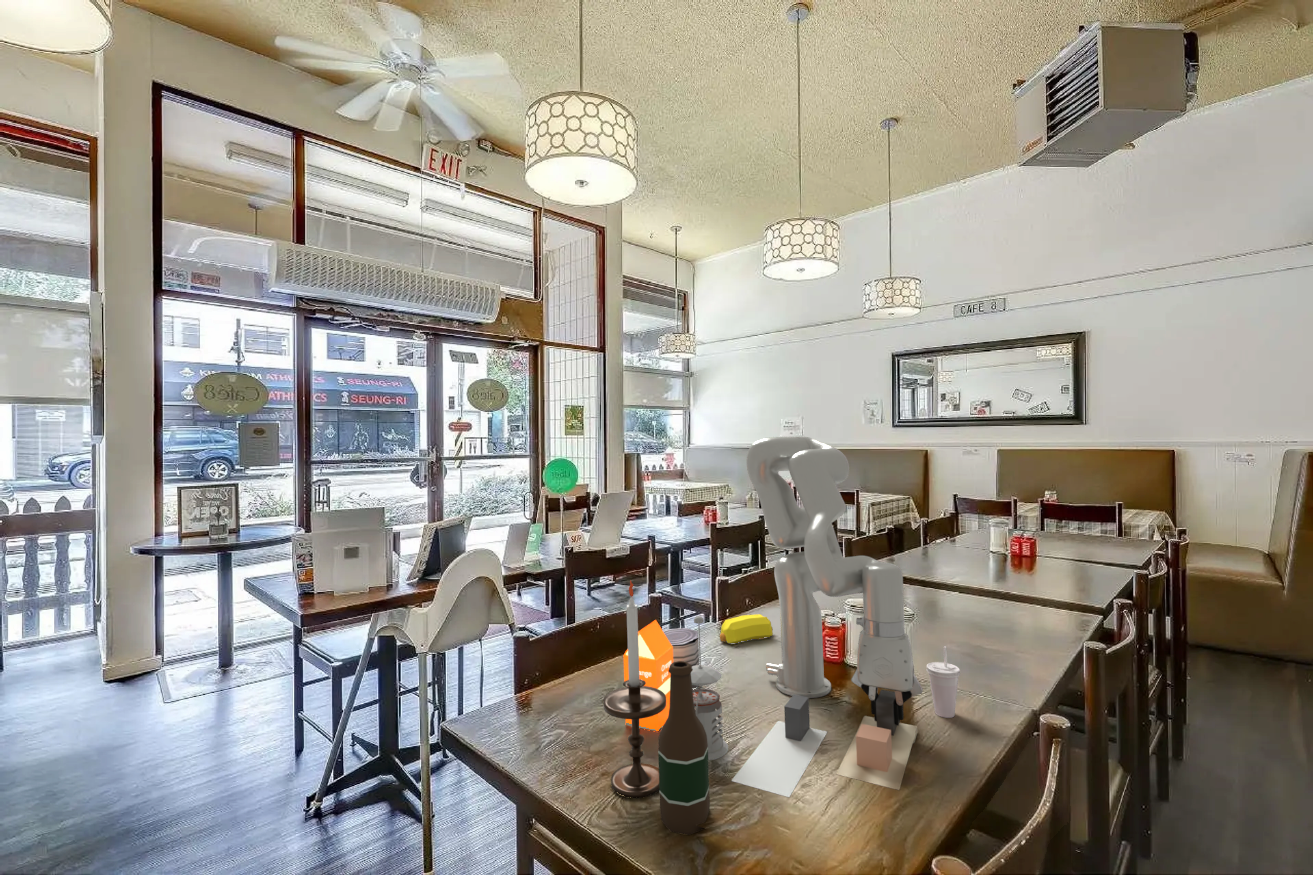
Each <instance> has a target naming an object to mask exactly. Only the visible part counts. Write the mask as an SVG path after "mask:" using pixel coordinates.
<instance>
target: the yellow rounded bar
mask: <svg viewBox="0 0 1313 875" xmlns="http://www.w3.org/2000/svg"><path fill="white" fill-rule="evenodd" d="M773 635H774V632H773V625H772V622H771V621H770V619H769V618H768V617H767V616H763V615H762V614H760V613H758V614H744V615H739V616H735V617H732V618H728V619H725V620H724V622H723V623H722V625H721V628H720V634H719V640H720V641H721V642H723V641H725V642H723V643H727V644H729V643H738V642H741V641H746V642H748V641H747V640H750V641H752V640H751V639H758V640H760V639H759V638H764V637H769V638H770V636H771V637H772V636H773ZM726 641H727V642H726ZM738 644H739V643H738Z"/></svg>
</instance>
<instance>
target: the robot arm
mask: <svg viewBox="0 0 1313 875" xmlns="http://www.w3.org/2000/svg"><path fill="white" fill-rule="evenodd" d="M746 454H747V455H746V471H747V475H748V477H749V479H750V482H751V484H752V486H753V488H754V490H755V492H756V495H757V496H758V500H759V503H760V506H761V510H762V513H763V516H764V517H763V518H764V520H765V525H766V527H767V532H768V535H769V537H770V540H771V542H772V543H773V545H774V546H775V547H777V548H779V549H795V548H802V547H803V550H804V551H798V552H792V553H788V554H785V555H783V556H781V557H780V558H779V559H778V560H777V561H776V563H775V565H774V569H773V570H774V571H773V573H774V581H775V585H776V589H777V593H778V603H779V614H780V615H779V619H780V639H781V640H780V642H781V645H780V646H781V663H779V664H775V663H770V662H767V663H766V666H765V671H766V672H767V675H769V676H776V677H777V678H776V680H775V686H776V688H777V690H778V691H780V692H781V693H783V694H784V695H787V696H790V697H792V696H793V695H799V696H805V697H809V699H814V698H815V699H816V698H821V697H824V696H827V695H828V694H830V693H831V691H832V683H831V682H830V680H828V679H827V678H826V677H825V675H824V674H825V673H824V671H825V670H824V646H823V645H824V644H823V642H824V641H823V621H822V620H823V619H822V617H823V616H822V611H821V608H820V606H819V603H818V602H817V601H816V599H815V597H814V595H813V593H816V592H821V593H822V594H824V595H825V596H827V597H832V598H840V597H844V596H850V595H857V594H862V609H863V612H862V613H863V615H862V616H861V617H856V620H855V623H856V625H858V626H861V627H862V629H861V631H859V635H858V643H857V644H858V645H857V656H856V657H857V660H856V663H857V664H856V665H857V666H856V670H855V672H854V674H853V675H852V677H851V679H850V680H851V682H852V683H853V684H855V685H856V686H858V688H859V687H860V689H862V691H863V692H864V693H865V694H866V695H867V696H868V699H869V700H870V713H871V715H874V717H873V718H874V720H875V721H877V717H876V700H877V698H878V696H879V693H878V690H879V689H883V690H889V691H894V692H895V696H896V700H895V704H894V723H895V725H897V726H899V723H901V721H904V714H905V713H904V703H905V702H907V701H908V700H909V699H911V698H912V697H915V696H918V695H921V694H922V693H923V692H924V690H923V689H924V688H923V687H922V685H921V683H920V681H919V679H918V678H917V676H916V674H915V668H914V667H915V666H914V659H913V651H912V646H911V641H910V637H909V634H908V633H906V632H905V631H906V629H905V628H906V627H905V606H904V605H905V604H904V603H905V602H904V601H905V600H904V576H903V571H902V569H901V567H900V566H899V565H898V564H894V563H891V562H881V561H880V560H877V559H875V558H873V557H871V556H868V555H856V556H855V555H854V556H847V557H843V553H842V551H841V548H840V544H839V541H838V538H837V534H836V531H835V529H834V526H833V523H834V522H836V521H837V520H838V519H839V518H840V517H842V516H843V515H844V514H845V512H846V511H847V510H846V509H847V508H846V507H847V506H846V502H845V501H844V499H843V497H842V495H841V492H840V490H839V488H838V486H837V485H838V484H841V483H843V482H845V481H846V480H847V479H848V477H849V475H850V464H849V461H848V458H847V456H846V455H845V454H844V453H843V452H842V451H841V450H839V449H837V448H836V447H834V446H833V445H830V444H827V443H824V442H822V441H819V440H817V439H816V438H812V437H808V436H773V437H765V438H760V439H758V440H756V441H754V442H753V443H752V444H751V445H750V447H749V448H748V450H747V453H746ZM786 471H787V472H789V474H790V477H791V480H792V481H793V483H794V486H795V489H796V491H797V493H798V496H799V499H800V501H801V503H802V505H803V506H802V507H800V506H799V505H798V502H797V500H796V498H795V493H794V490H793V489H792V487H791V486H790V484H789V483H788V481H786V480H785V478H784V477H783V476H781V475H780V474H779V472H786Z"/></svg>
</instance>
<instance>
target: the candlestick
mask: <svg viewBox="0 0 1313 875" xmlns="http://www.w3.org/2000/svg"><path fill="white" fill-rule="evenodd" d="M633 588H634V583H632V580H631V579H630V581H629V586H628V593H629V602H628V604H626V628H627V630H626V632H627V633H626V634H627V649H628V670H629V680H627V681H625V682H622V686H623V687H619V688H616V689H613V690H611V691H610V692H608V693H607V694H606V695H605V696H604V698H603V710H604V712H605V713H606V714H608V715H609V716H610V717H614V718H617V719H622V720H623V719H632V727H631V734H630V735H629V736H628V737H627V741H628V744H629V745H630V746H631V750H630V751H629V753H628V754H629V756H630V757H631V758H632V763H628V764H625V765H622V766H621V767H619V768H617V769H616V770H615V771H614V772H613V773H612V775H611V777H610V786H611V785H612V787H611V789H612V788H613V789H614V790H615V791H616V792H618V793H619V794H621V795H624V796H625V797H624V798H626V797H629V798H628V799H644V798H647V797H648V798H649V797H650V796H653V795H655V794H656V792H657V793H658V792H659V767H657V766H655V765H653V764H649V763H643V762H641V758H642V757H643V756H644V750H643V749H642V746H643V743H644V741H645V736H644V735H643V734H642V733H641V731H640V730H641V729H640V728H639V719H642V718H647V717H651V716H654V715H656V714H658V713H660V712H661V711H662V710H664V708H665V707H666V696H665V694H664V693H663V692H662V691H661V690H659V689H656V688H653V687H648V686H644V685H645V684H646V682H645V681H644V680H641V679H640V678H639V646H638V632H639V623H638V622H639V621H638V620H639V619H638V618H639V617H638V616H639V615H638V604H636V603H635V600H634V589H633ZM613 789H612V790H613ZM630 797H631V798H630ZM643 797H644V798H643Z"/></svg>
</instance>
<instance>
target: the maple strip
mask: <svg viewBox="0 0 1313 875" xmlns="http://www.w3.org/2000/svg"><path fill="white" fill-rule="evenodd" d="M878 694H879V696H878V698H877V700H876V717H877V721H875V720H874V717H873V716H869V715H868V716H867V715H864V716H863V717H862V720H861V722H860V723H859V726H858V728H857V730H856V733H855V735H854V737H853V739H852V740H851V743H850V745H849V746H848V749H847V751H846V753H845V755H844V757H843V759H842V761H841V763H840V765H839V767H838V769H837V771H836V774H835V775H838V776H842V777H845V778H849V779H853V780H856V781H857V780H858V781H861V782H864V783H869V784H873V785H876V786H881V787H884V788H888V789H892V790H897V791H900V789H901V785H902V783H903V778H904V774H905V771H906V768H907V765H908V761H909V757H910V754H911V749H912V747H913V744H915V742H916V740H917V739H916V738H917V735H918V731H919V730H918V726H917V725H912V724H907V723H902V722H900V723H899V726H897V725H895V723H894V704H895V700H896V696H895V691H893V690H888V689H880V692H879V693H878ZM861 724H865V725H870V726H875V727H879V728H884V729H889V730H891V743H892V760H891V763H890V766H889V769H888V772H884V771H880V770H876V769H872V768H868V767H864V766H860V765H857V751H856V735H857V733H858V731H859V729H860V727H861Z"/></svg>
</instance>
